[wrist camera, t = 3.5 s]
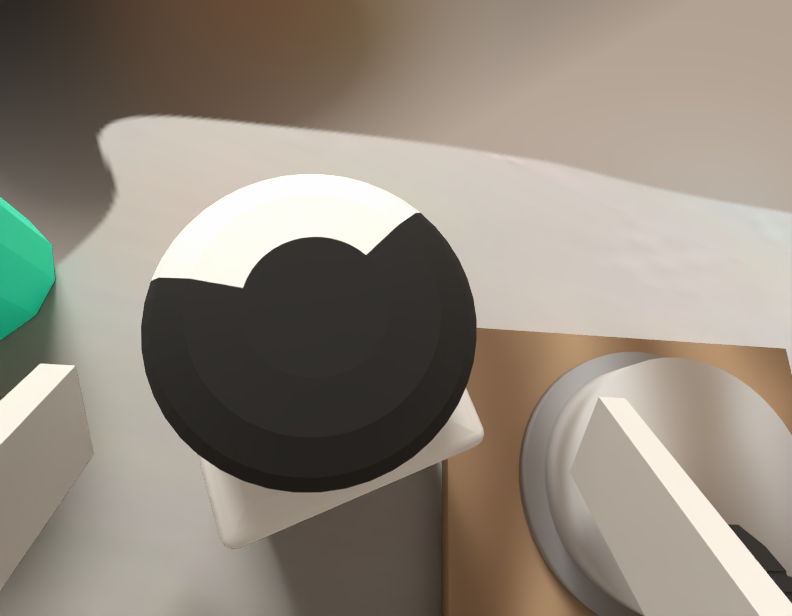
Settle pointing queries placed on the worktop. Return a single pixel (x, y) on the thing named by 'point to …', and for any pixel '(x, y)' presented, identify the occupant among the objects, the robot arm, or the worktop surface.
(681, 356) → the stub board
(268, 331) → the medicine bottle
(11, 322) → the candle
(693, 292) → the worktop surface
